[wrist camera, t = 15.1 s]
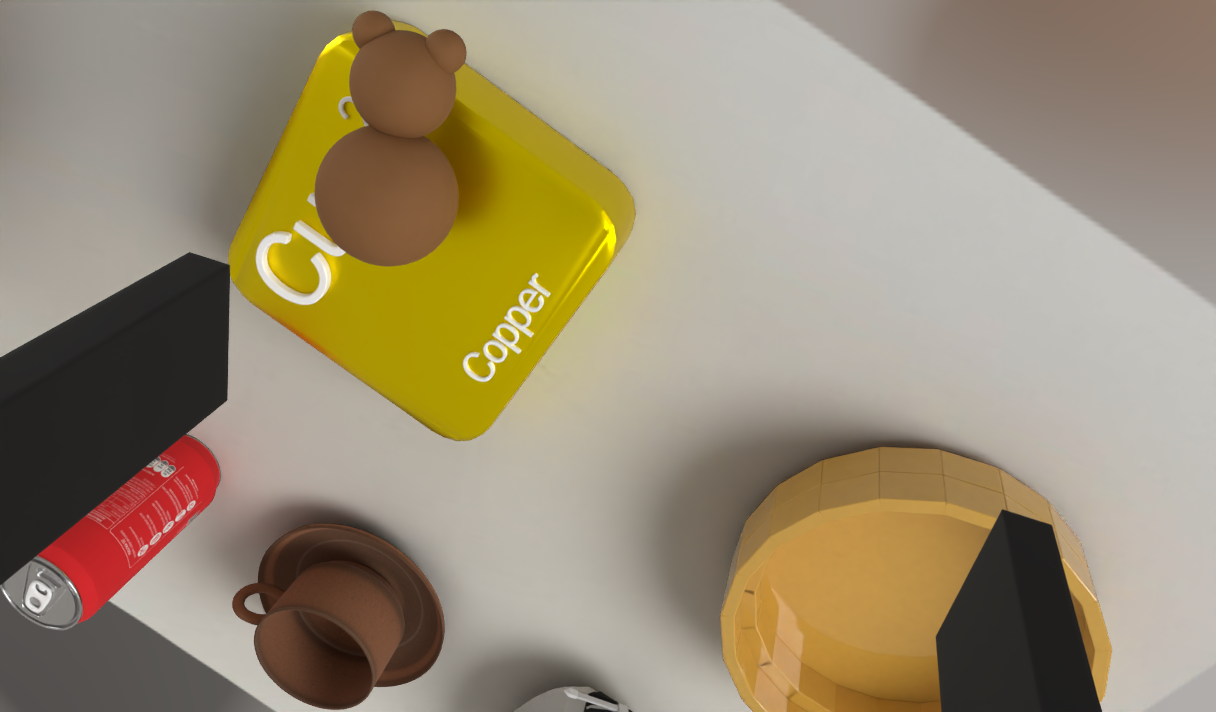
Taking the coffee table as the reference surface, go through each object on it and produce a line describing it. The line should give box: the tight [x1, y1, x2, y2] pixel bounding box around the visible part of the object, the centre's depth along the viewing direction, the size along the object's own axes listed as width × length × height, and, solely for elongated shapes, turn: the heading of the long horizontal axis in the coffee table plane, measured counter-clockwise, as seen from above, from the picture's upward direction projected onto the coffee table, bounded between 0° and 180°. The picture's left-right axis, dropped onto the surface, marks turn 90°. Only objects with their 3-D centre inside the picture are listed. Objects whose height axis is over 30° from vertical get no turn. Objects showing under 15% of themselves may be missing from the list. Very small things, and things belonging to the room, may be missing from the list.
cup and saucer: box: [232, 524, 445, 710], centre depth 57 cm, size 12×12×6 cm
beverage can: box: [0, 434, 221, 630], centre depth 53 cm, size 5×5×12 cm
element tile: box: [228, 20, 636, 441], centre depth 45 cm, size 15×15×5 cm
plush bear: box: [314, 11, 466, 267], centre depth 38 cm, size 6×6×10 cm
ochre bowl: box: [720, 447, 1112, 712], centre depth 48 cm, size 17×17×5 cm
